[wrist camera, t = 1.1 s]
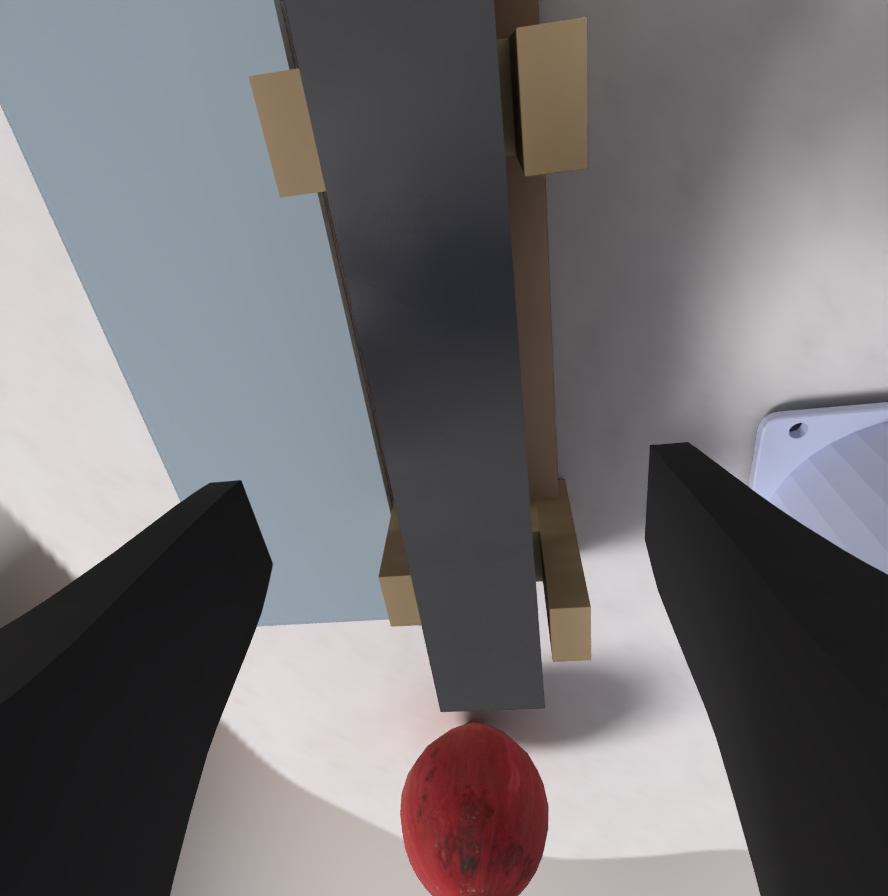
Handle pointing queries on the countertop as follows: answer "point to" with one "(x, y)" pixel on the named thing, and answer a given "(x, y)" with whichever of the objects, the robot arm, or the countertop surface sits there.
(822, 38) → the countertop surface
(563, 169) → the rack
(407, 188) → the rail
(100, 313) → the mat
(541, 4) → the countertop surface
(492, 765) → the onion
